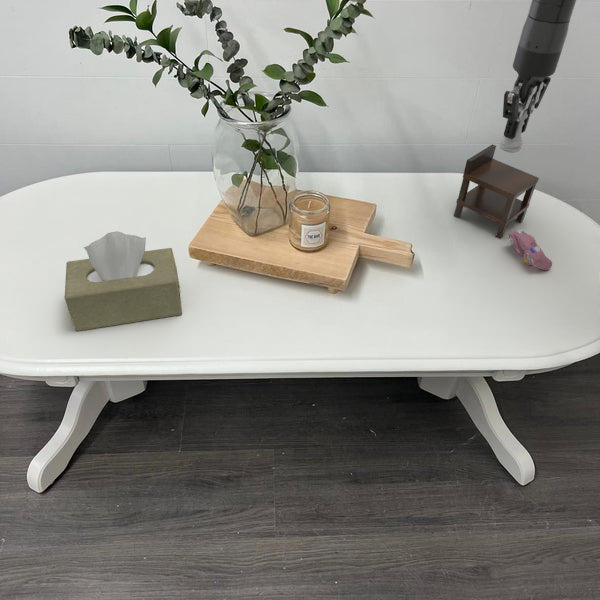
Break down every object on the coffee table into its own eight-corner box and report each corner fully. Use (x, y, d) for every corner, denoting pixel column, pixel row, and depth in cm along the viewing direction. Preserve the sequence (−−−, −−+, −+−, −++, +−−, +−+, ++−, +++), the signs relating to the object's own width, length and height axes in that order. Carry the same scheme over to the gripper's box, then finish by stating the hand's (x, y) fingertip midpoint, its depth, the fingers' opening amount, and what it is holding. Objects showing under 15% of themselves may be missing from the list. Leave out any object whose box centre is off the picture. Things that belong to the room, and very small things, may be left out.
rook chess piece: (493, 144, 117) (504, 106, 111) (512, 141, 118) (523, 103, 112) (506, 154, 114) (518, 116, 108) (525, 151, 115) (537, 113, 109)
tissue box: (178, 280, 109) (167, 210, 99) (184, 314, 103) (173, 244, 92) (75, 295, 106) (52, 224, 95) (74, 332, 99) (49, 260, 88)
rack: (523, 221, 127) (543, 164, 118) (500, 239, 122) (519, 182, 112) (477, 199, 133) (492, 144, 124) (452, 216, 128) (466, 159, 118)
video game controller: (507, 250, 121) (502, 229, 116) (526, 239, 121) (522, 217, 116) (534, 280, 115) (530, 258, 110) (555, 268, 114) (551, 246, 109)
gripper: (541, 59, 96) (512, 152, 108) (578, 40, 104) (548, 129, 115) (501, 47, 100) (478, 138, 112) (540, 30, 108) (514, 117, 119)
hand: (514, 133), depth 113 cm, fingers closed on rook chess piece, 3 cm apart
